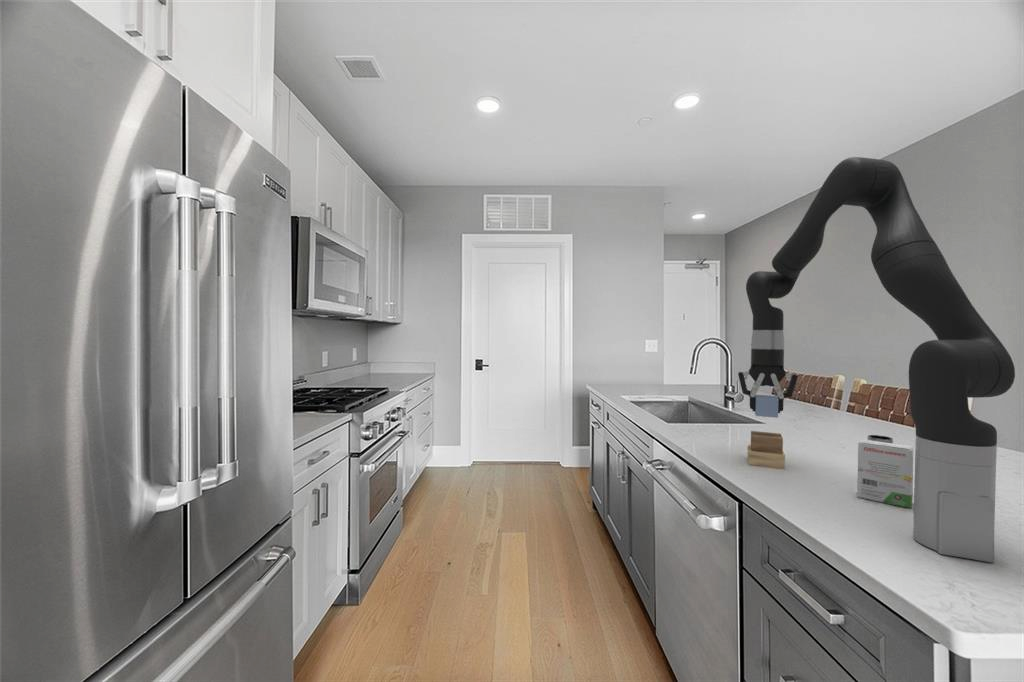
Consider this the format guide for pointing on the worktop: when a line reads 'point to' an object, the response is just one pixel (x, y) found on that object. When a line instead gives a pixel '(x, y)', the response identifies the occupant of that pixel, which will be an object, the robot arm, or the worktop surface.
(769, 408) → the blue cube
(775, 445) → the walnut block
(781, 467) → the oak block
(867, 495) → the ink box
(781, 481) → the worktop surface
